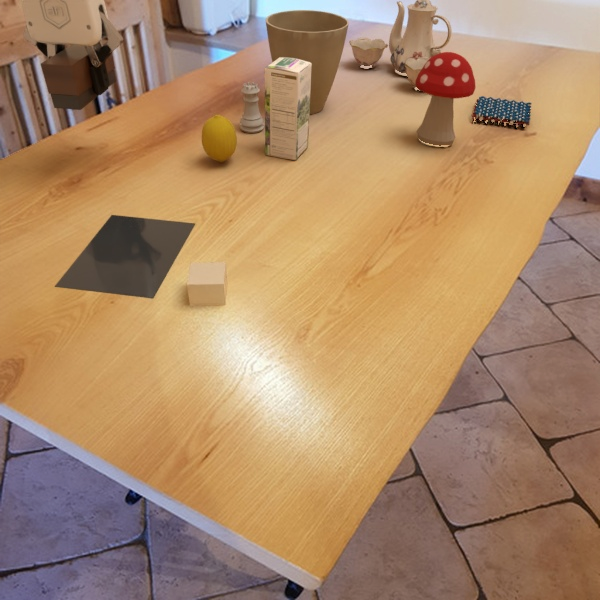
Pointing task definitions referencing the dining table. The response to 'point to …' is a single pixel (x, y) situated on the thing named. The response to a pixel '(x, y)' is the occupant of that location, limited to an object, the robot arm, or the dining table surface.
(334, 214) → the dining table surface
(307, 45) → the plant pot
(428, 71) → the decorative mushroom
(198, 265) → the chalk block
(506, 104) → the woven mat
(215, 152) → the lemon
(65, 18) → the robot arm
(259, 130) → the rook chess piece
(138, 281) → the tile
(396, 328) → the dining table surface
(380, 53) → the chinaware
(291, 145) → the syrup box
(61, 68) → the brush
